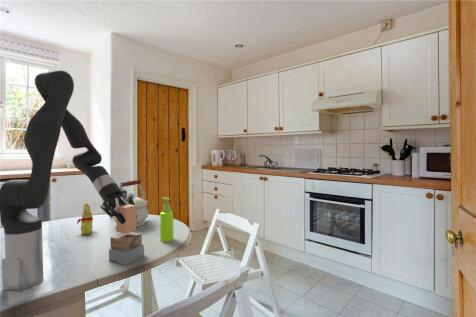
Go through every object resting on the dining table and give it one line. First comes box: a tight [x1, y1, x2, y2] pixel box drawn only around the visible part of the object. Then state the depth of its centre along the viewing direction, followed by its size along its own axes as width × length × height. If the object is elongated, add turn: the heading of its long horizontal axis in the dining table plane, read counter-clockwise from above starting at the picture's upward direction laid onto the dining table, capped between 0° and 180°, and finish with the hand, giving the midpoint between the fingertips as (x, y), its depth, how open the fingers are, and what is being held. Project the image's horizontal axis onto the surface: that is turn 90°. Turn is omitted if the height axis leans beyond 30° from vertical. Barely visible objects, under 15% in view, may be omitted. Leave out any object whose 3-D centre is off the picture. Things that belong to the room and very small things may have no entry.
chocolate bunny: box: [76, 203, 94, 236], centre depth 132 cm, size 7×11×15 cm, turn 24°
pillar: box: [115, 204, 137, 234], centre depth 101 cm, size 5×5×10 cm
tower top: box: [110, 231, 143, 252], centre depth 102 cm, size 8×8×4 cm
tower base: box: [108, 243, 145, 265], centre depth 101 cm, size 9×9×4 cm
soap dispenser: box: [159, 196, 174, 243], centre depth 121 cm, size 6×7×20 cm
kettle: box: [112, 179, 149, 228], centre depth 147 cm, size 25×18×25 cm
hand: (129, 220), depth 100 cm, fingers closed on pillar, 5 cm apart
